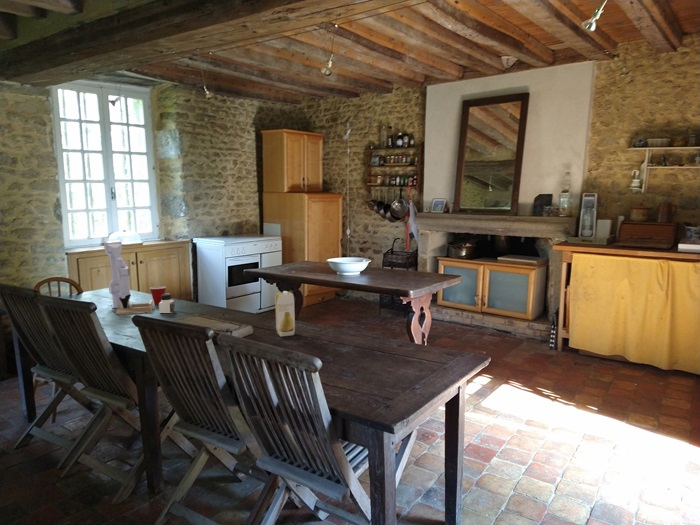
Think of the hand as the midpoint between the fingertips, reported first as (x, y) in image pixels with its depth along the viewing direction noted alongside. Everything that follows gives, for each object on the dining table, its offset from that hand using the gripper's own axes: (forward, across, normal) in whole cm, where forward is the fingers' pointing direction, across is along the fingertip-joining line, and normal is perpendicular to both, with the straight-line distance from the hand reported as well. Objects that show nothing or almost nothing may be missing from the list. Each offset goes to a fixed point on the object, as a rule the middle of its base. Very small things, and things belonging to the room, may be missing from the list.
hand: (126, 307), depth 313 cm
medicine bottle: (+3, +10, +25) cm, 27 cm away
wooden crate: (+3, 0, +5) cm, 6 cm away
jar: (+2, 0, 0) cm, 2 cm away
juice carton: (+3, +79, +91) cm, 120 cm away
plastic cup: (+3, -16, +18) cm, 25 cm away
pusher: (+2, 0, +3) cm, 4 cm away
